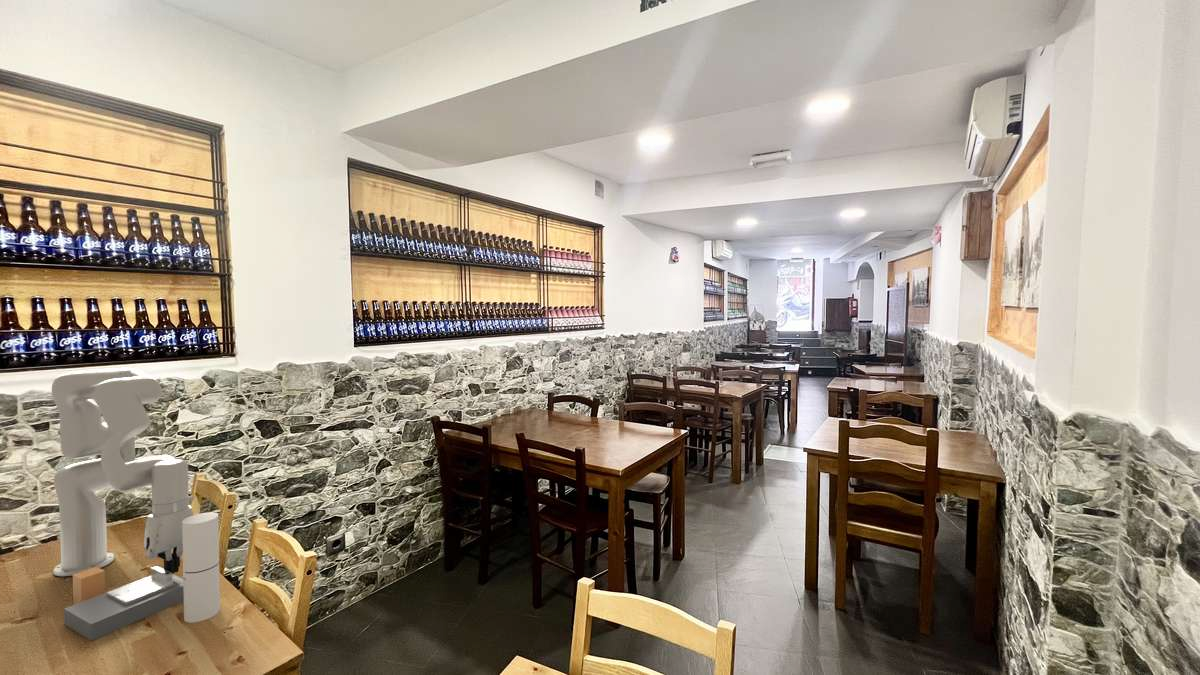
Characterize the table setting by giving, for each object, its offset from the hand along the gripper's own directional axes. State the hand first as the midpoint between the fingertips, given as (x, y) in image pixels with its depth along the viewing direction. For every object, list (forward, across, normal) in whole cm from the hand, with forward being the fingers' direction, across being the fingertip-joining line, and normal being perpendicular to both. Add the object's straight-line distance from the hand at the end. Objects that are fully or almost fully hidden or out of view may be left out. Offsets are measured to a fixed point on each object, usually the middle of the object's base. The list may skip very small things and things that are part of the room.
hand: (172, 571), depth 134 cm
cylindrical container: (+6, +2, +18) cm, 19 cm away
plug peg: (+6, +12, -14) cm, 19 cm away
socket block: (+6, +9, 0) cm, 11 cm away
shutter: (+2, +7, 0) cm, 7 cm away
